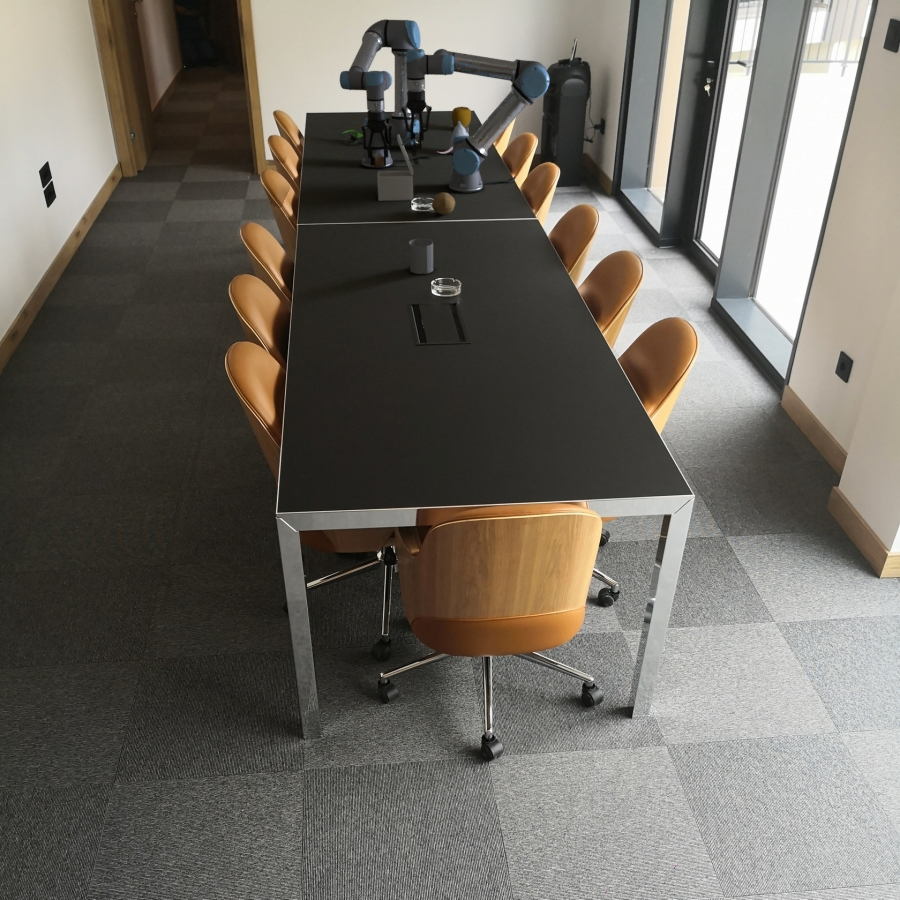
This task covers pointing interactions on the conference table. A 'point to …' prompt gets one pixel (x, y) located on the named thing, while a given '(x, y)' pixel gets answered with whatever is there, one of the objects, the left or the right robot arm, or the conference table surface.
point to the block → (378, 160)
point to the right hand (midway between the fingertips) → (417, 148)
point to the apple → (461, 116)
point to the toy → (457, 131)
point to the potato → (443, 203)
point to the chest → (395, 185)
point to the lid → (405, 150)
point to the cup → (421, 256)
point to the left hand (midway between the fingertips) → (378, 164)
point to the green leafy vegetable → (354, 137)
